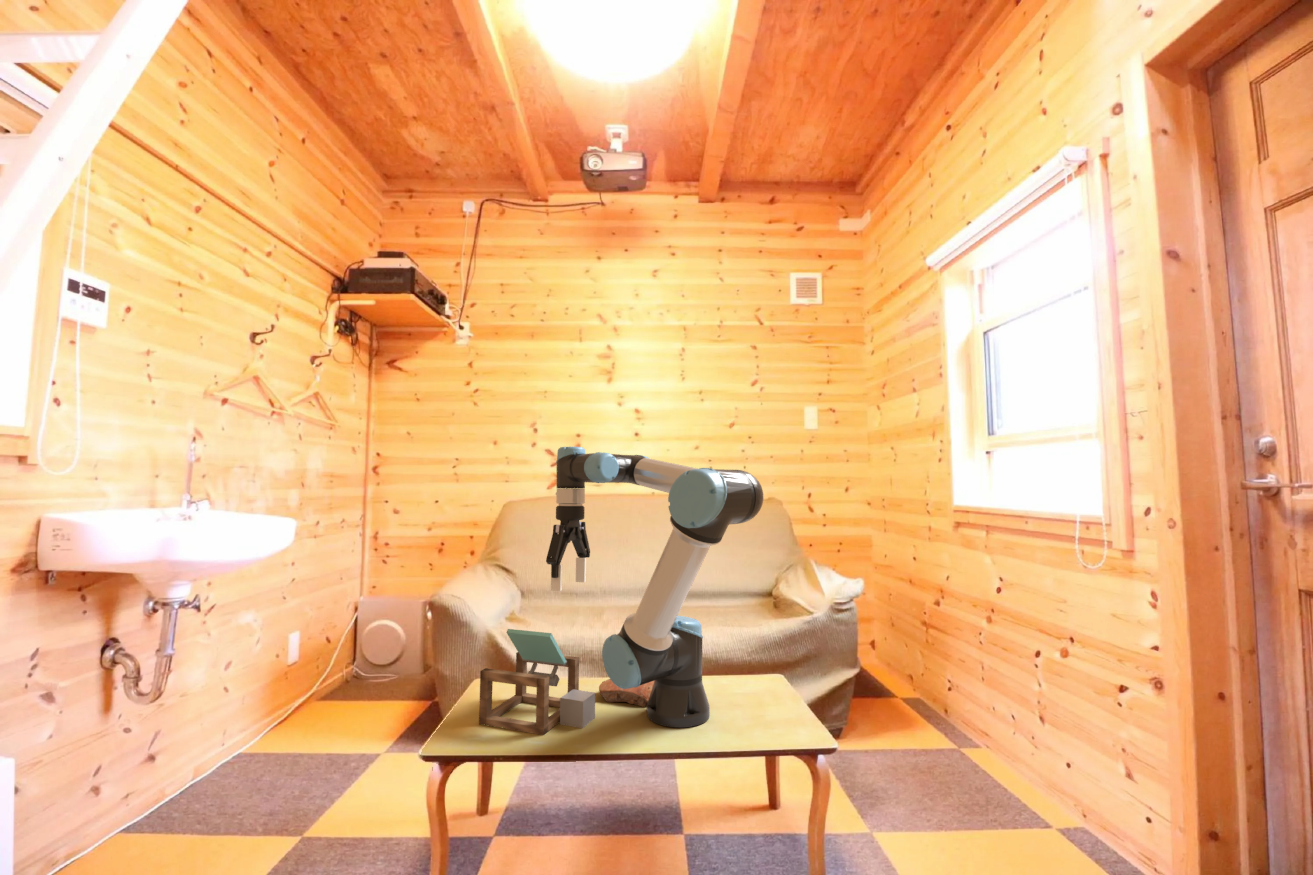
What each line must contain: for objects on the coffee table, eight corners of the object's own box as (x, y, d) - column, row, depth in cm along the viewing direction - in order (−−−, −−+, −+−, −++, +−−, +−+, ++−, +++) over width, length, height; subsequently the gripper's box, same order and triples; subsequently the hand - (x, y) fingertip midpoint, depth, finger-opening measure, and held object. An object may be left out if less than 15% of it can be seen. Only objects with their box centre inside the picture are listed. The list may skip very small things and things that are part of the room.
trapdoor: (564, 687, 140) (571, 668, 143) (544, 651, 131) (552, 632, 135) (520, 681, 144) (529, 663, 147) (498, 646, 135) (507, 628, 139)
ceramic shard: (611, 664, 159) (662, 676, 156) (607, 688, 158) (658, 700, 154) (595, 673, 145) (651, 687, 142) (590, 700, 144) (647, 714, 140)
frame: (578, 706, 141) (579, 657, 142) (543, 734, 125) (544, 679, 126) (519, 697, 147) (520, 650, 148) (478, 724, 131) (480, 670, 132)
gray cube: (594, 718, 134) (595, 692, 135) (582, 728, 129) (583, 701, 129) (572, 714, 137) (573, 689, 137) (559, 724, 131) (560, 697, 132)
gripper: (578, 503, 163) (577, 577, 162) (533, 506, 140) (531, 593, 138) (602, 503, 161) (601, 579, 159) (560, 506, 137) (558, 595, 136)
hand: (569, 586), depth 149 cm, fingers open, 13 cm apart
